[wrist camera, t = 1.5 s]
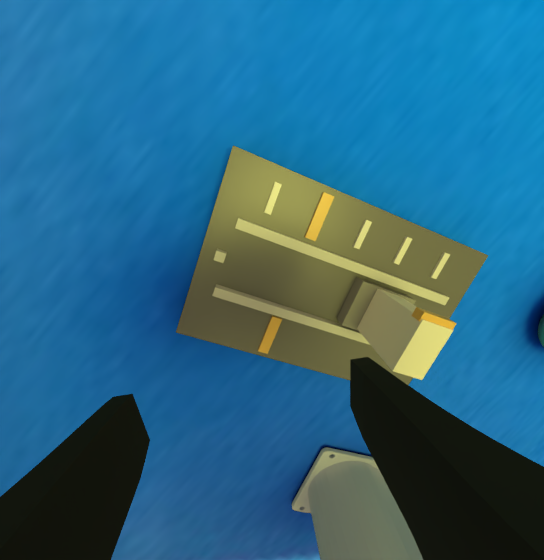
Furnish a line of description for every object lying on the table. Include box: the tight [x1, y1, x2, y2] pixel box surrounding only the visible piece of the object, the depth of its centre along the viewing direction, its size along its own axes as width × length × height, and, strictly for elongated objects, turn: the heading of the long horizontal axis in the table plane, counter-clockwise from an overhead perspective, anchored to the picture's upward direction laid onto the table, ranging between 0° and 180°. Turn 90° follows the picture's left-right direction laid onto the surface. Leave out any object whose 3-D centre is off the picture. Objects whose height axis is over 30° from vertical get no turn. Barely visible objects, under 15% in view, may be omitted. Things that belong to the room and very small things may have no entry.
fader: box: [337, 277, 456, 380], centre depth 15 cm, size 4×3×5 cm
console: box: [176, 146, 488, 385], centre depth 18 cm, size 18×12×2 cm, turn 69°
